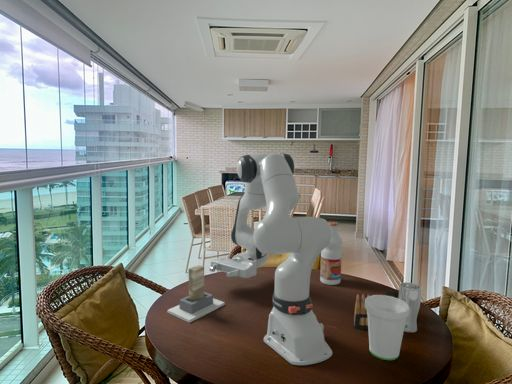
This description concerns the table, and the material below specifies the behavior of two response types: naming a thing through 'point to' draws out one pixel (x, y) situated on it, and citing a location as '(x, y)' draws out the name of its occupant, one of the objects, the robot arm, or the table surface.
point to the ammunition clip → (360, 313)
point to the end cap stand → (195, 307)
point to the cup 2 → (386, 325)
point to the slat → (196, 283)
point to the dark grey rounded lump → (392, 293)
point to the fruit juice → (331, 258)
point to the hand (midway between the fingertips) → (219, 272)
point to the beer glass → (410, 303)
